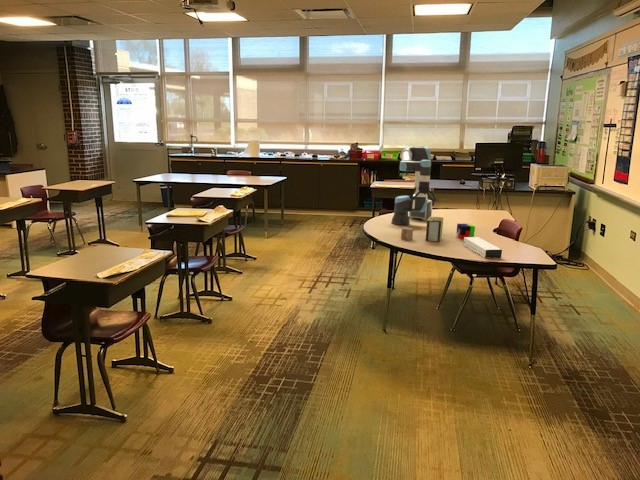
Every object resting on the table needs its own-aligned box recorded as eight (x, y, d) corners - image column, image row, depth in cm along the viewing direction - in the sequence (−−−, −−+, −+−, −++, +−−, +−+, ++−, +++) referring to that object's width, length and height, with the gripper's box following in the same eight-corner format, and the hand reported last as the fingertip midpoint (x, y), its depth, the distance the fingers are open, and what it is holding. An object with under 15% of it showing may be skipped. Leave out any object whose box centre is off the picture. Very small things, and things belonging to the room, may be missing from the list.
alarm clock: (432, 218, 446) (434, 198, 442) (427, 221, 435) (428, 200, 431) (413, 216, 456) (414, 196, 451) (407, 218, 445) (409, 198, 440)
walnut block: (401, 238, 371) (401, 228, 369) (405, 237, 375) (406, 227, 373) (407, 240, 367) (408, 229, 365) (412, 238, 371) (413, 228, 369)
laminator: (501, 258, 327) (502, 249, 325) (483, 259, 325) (484, 249, 323) (477, 245, 359) (478, 236, 358) (461, 245, 358) (462, 237, 356)
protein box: (441, 237, 378) (443, 217, 374) (439, 242, 364) (441, 221, 360) (427, 236, 381) (429, 216, 378) (425, 240, 367) (426, 220, 363)
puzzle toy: (456, 236, 384) (457, 223, 381) (468, 236, 384) (470, 223, 382) (460, 239, 374) (462, 226, 371) (473, 239, 375) (475, 226, 372)
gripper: (406, 180, 370) (404, 208, 375) (440, 182, 359) (437, 212, 364) (409, 179, 376) (407, 207, 381) (442, 181, 365) (440, 210, 370)
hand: (422, 209), depth 372 cm, fingers open, 13 cm apart
